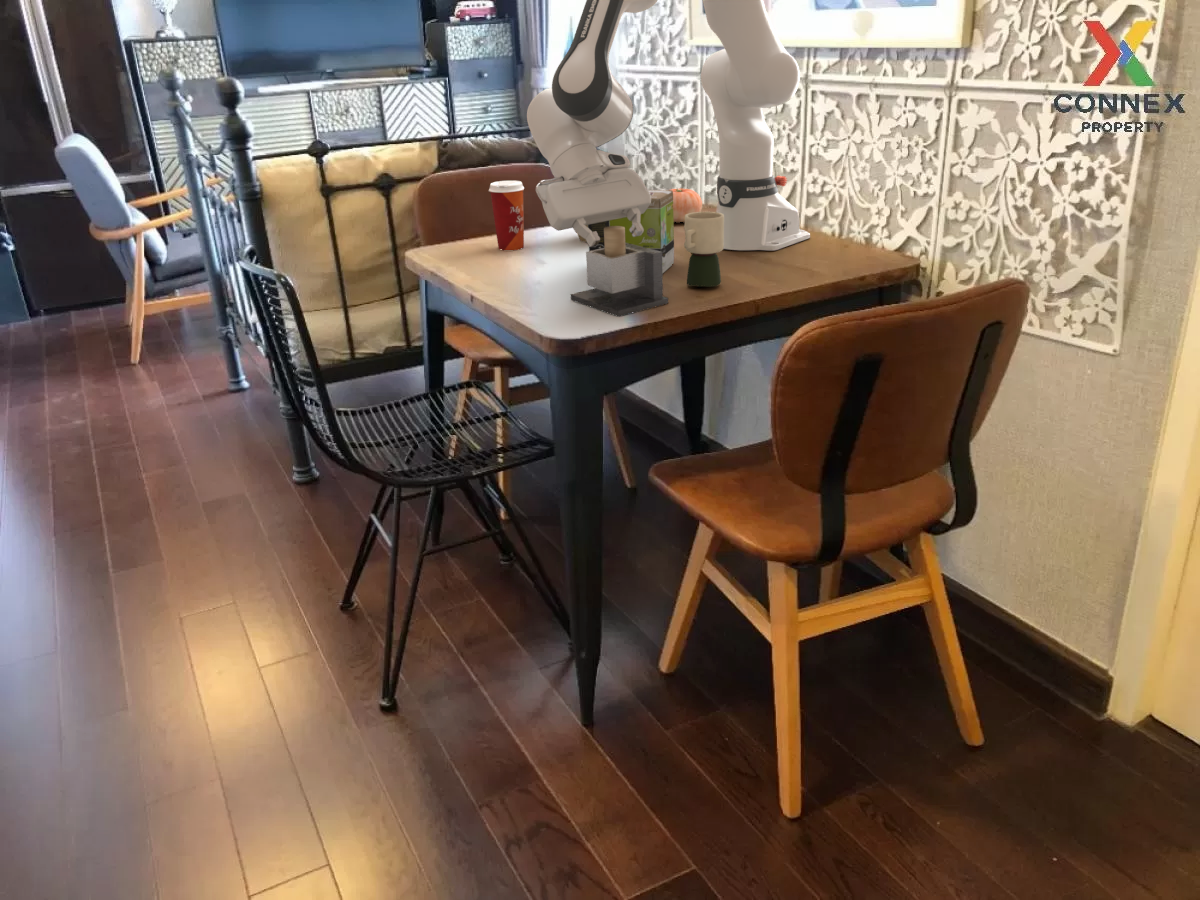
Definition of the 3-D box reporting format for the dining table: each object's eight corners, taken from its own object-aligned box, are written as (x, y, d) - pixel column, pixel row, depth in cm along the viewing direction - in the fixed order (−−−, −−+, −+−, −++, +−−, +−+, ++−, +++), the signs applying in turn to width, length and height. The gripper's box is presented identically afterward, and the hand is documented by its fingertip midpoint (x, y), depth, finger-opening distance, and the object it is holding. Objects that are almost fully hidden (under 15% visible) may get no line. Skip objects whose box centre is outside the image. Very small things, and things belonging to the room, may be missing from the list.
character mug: (704, 277, 178) (704, 208, 172) (736, 282, 174) (737, 211, 168) (670, 290, 171) (670, 218, 165) (703, 296, 166) (703, 222, 161)
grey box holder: (619, 288, 173) (617, 239, 169) (668, 303, 163) (667, 252, 159) (570, 299, 167) (568, 249, 164) (618, 316, 157) (616, 263, 153)
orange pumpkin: (710, 219, 226) (711, 185, 222) (685, 227, 218) (685, 193, 215) (673, 215, 232) (673, 182, 229) (648, 223, 224) (647, 189, 221)
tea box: (675, 263, 188) (674, 188, 182) (661, 276, 180) (660, 198, 173) (604, 260, 193) (602, 187, 187) (588, 272, 184) (585, 196, 178)
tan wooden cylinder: (618, 276, 166) (616, 225, 162) (630, 279, 163) (629, 227, 159) (601, 279, 164) (599, 228, 160) (614, 283, 161) (612, 231, 157)
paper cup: (523, 252, 202) (518, 186, 196) (489, 251, 204) (483, 186, 198) (532, 243, 209) (528, 179, 203) (499, 243, 211) (494, 179, 205)
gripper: (537, 170, 155) (574, 238, 152) (634, 154, 165) (670, 218, 162) (525, 194, 160) (561, 260, 157) (619, 178, 171) (654, 239, 168)
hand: (617, 238), depth 160 cm, fingers open, 8 cm apart
